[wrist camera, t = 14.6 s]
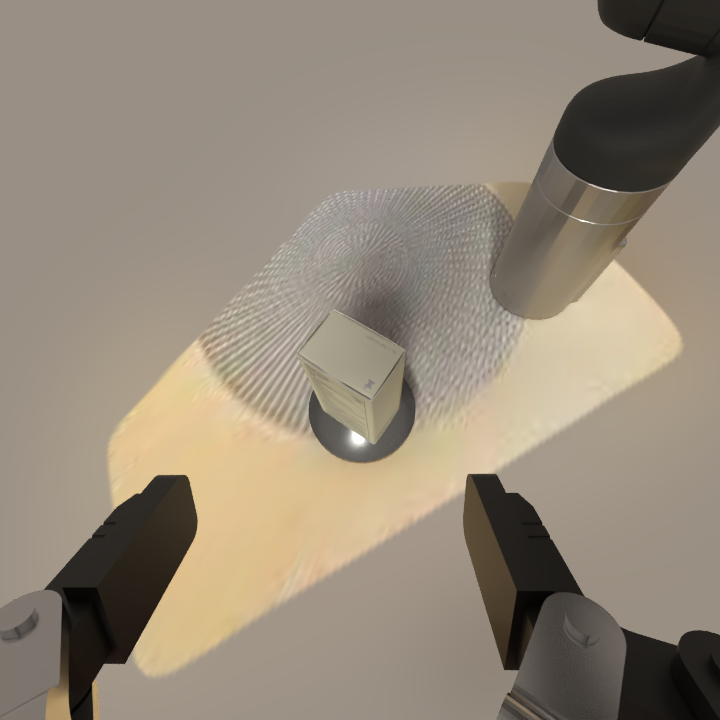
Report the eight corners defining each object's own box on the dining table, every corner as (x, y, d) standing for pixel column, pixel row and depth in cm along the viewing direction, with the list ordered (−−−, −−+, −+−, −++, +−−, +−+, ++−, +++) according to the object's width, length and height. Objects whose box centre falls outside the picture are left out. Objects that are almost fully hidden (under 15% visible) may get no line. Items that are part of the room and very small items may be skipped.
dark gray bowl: (400, 364, 40) (402, 351, 38) (422, 456, 36) (426, 450, 33) (308, 379, 40) (303, 368, 37) (319, 475, 36) (315, 470, 33)
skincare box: (400, 408, 35) (412, 350, 24) (373, 448, 34) (374, 404, 23) (345, 374, 37) (334, 304, 26) (318, 410, 35) (293, 352, 24)
